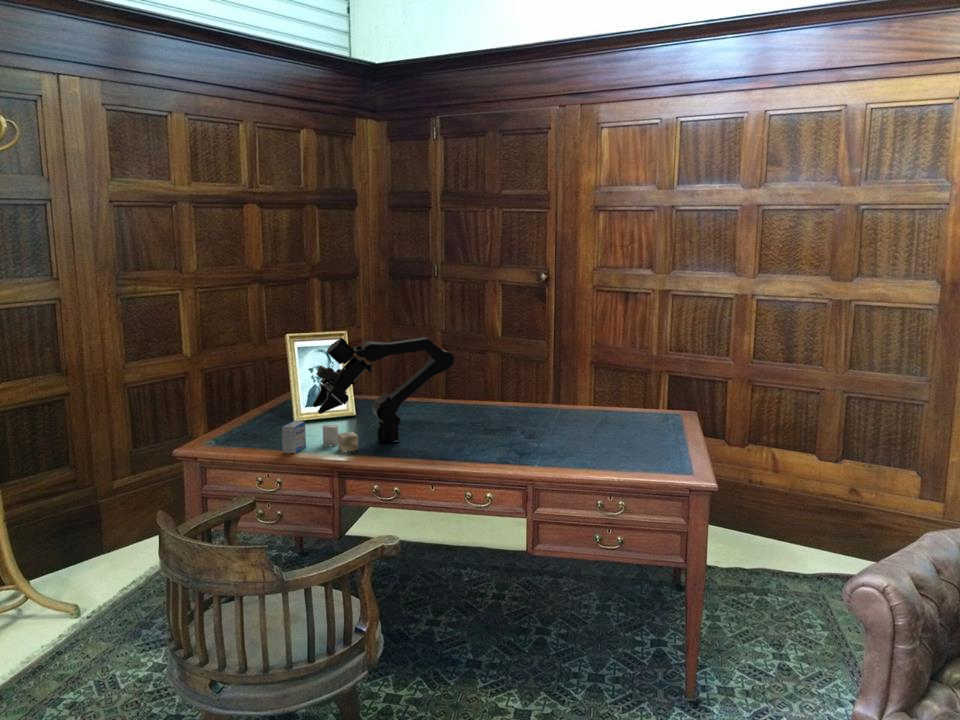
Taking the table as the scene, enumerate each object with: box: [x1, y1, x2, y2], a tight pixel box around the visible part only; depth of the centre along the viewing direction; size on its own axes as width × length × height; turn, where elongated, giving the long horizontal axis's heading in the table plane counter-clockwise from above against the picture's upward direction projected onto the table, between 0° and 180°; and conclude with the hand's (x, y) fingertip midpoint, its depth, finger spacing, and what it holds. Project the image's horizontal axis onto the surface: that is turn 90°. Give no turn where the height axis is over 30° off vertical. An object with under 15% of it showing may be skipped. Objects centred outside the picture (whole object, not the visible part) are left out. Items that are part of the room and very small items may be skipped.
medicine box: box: [281, 420, 307, 454], centre depth 253 cm, size 8×4×9 cm, turn 167°
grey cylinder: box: [322, 423, 339, 447], centre depth 260 cm, size 5×5×6 cm
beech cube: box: [337, 431, 359, 453], centre depth 254 cm, size 5×5×5 cm
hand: (316, 409), depth 254 cm, fingers open, 9 cm apart
